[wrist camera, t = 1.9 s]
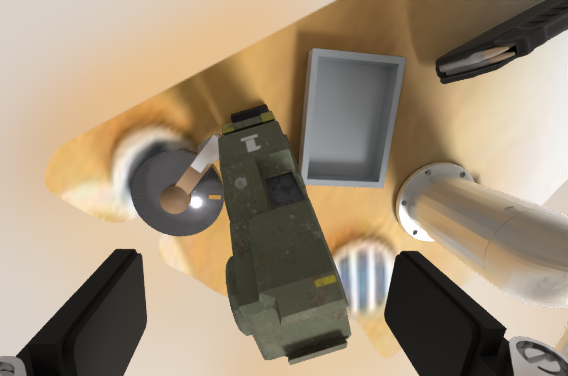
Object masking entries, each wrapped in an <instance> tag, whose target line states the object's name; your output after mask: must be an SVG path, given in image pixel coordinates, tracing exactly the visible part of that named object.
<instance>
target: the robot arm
mask: <svg viewBox="0 0 568 376" xmlns="http://www.w3.org/2000/svg"><path fill="white" fill-rule="evenodd" d="M396 216H397V219H398V222H399V224H400V225H401V227H402V228H403V229H404V230H405V231H406V232H407V233H408V234H409V235H411V236H412V237H414V238H416V239H418V240H422V241H435V242H437V243H438V244H439V245H441V246H442V247H443V248H445V249H446V250H447V251H449V252H450V253H451V254H453V255H454V256H455V257H457V258H458V259H459V260H461V261H462V262H463V263H465V264H466V265H467V266H469V267H470V268H471V269H473V270H474V271H475V272H477V273H478V274H479V275H481V276H482V277H483V278H485V279H486V280H487V281H489V282H490V283H492V284H493V285H494V286H496V287H497V288H498V289H500V290H501V291H503V292H504V293H505V294H507V295H508V296H510V297H512V298H514V299H516V300H518V301H520V302H523V303H526V304H530V305H534V306H540V307H548V308H568V215H565V214H563V213H560V212H557V211H554V210H551V209H548V208H545V207H543V206H540V205H537V204H534V203H531V202H528V201H525V200H523V199H520V198H517V197H514V196H511V195H508V194H505V193H503V192H500V191H497V190H494V189H491V188H488V187H485V186H482V185H480V184H477V183H475V182H474V180H473V178H472V176H471V175H470V174H469V173H468V171H466V170H465V169H463V168H462V167H460V166H458V165H455V164H451V163H447V162H438V163H432V164H429V165H426V166H424V167H422V168H420V169H418V170H417V171H415V172H414V173H413V174H412V175H410V177H409V178H408V179H407V180H406V181H405V182H404V184H403V185H402V187H401V189H400V191H399V193H398V196H397V200H396ZM146 313H147V312H146V299H145V287H144V274H143V261H142V255H141V253H137V252H136V250H135V249H116V250H114V252H113V253H112V254H111V255H110V256H109V257H108V258H107V259H106V260H105V261H104V262H103V263H102V264H101V266H100V267H99V268H98V269H97V270H96V271H95V272H94V273H93V274H92V275H91V276H90V277H89V279H88V280H87V281H86V282H85V283H84V284H83V285H82V286H81V287H80V288H79V289H78V290H77V291H76V292H75V293H74V294H73V295H72V297H70V299H69V300H68V301H67V302H66V303H65V304H64V305H63V306H62V307H61V308H60V309H59V310H58V311H57V313H56V314H55V315H54V316H53V317H52V318H51V319H50V320H49V321H48V322H47V323H46V324H45V325H44V326H43V328H42V329H41V330H40V331H39V332H38V333H37V334H36V335H35V336H34V337H33V338H32V339H31V340H30V342H29V343H28V344H27V345H26V346H25V347H24V348H23V349H22V350H21V351H20V352H19V354H17V355H16V357H14V356H2V357H0V376H123V375H124V373H125V371H126V369H127V367H128V365H129V362H130V360H131V358H132V356H133V354H134V352H135V350H136V347H137V345H138V343H139V341H140V339H141V337H142V335H143V332H144V330H145V328H146V323H147V314H146ZM384 317H385V321H386V323H387V325H388V326H389V328H390V330H391V331H392V333H393V334H394V336H395V338H396V339H397V341H398V342H399V344H400V346H401V347H402V349H403V350H404V352H405V354H406V355H407V357H408V358H409V360H410V362H411V363H412V365H413V366H414V368H415V370H416V371H417V373H418V374H419V376H568V322H567V324H566V325H565V329H564V331H563V332H562V334H561V335H560V337H559V338H558V340H557V341H556V343H555V344H554V346H553V347H550V346H549V345H546V344H544V343H542V342H540V341H538V340H534V339H531V338H528V337H521V336H519V337H513V338H512V339H510V341H507V340H506V339H505V338H504V334H505V331H506V329H507V328H505V327H504V326H503V325H502V324H501V323H500V322H499V321H497V320H496V319H495V318H494V317H493V316H491V314H489V313H488V312H487V311H486V310H485V309H484V308H483V307H481V306H480V305H479V304H478V303H477V302H475V301H474V300H473V299H472V298H471V297H470V296H469V295H468V294H466V293H465V292H464V291H463V290H462V289H461V288H460V287H459V286H457V285H456V284H455V283H454V282H453V281H452V280H450V279H449V278H448V277H447V276H446V275H445V274H444V273H442V272H441V271H440V270H439V269H438V268H437V267H436V266H434V265H433V264H432V263H431V262H430V261H429V260H428V259H426V258H425V257H424V256H423V255H422V254H421V253H420V252H418V251H402V252H401V253H400V254H399V255H397V256H396V258H395V263H394V268H393V273H392V277H391V282H390V287H389V292H388V297H387V302H386V307H385V312H384Z"/></svg>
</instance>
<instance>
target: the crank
mask: <svg viewBox="0 0 568 376" xmlns="http://www.w3.org/2000/svg"><path fill="white" fill-rule="evenodd" d="M220 137H222V135H220V134H216V133H215V134H214V135H212V136H210V137H209V138H207V139H206V140H205V141H203V142H202V143H200V145H199V146H198V148H197V154H198V155H197V157H196V158H195V159H194V161H193V162H192V164H191V165H190V166H189V168H188V169H187V170H186V172H185V173H184V174H183V176H182V177H181V178H180V180H179V181H178V182H177V184H171V185H169V186H168V187H167V188H166V189H165V190H163V191H162V193H161V194H160V198H159V201H160V205H161V207H162V208H163V209H164V210H165V211H167V212H169V213H172V214H178V213H181V212H183V211H184V210H185V209H186V208H187V207H188V205H189V204H190V202H191V193H190V192H191V191H192V190H193V188H194V187H195V186H196V184H197V183H198V182H199V180H200V179H201V178H202V177H203V175H204V174H205V173H206V171H207V170H208V169H209V167H210V166H211V165H212V163H214V162H216V161H217V160H218V159H219V148H218V138H220Z"/></svg>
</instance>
